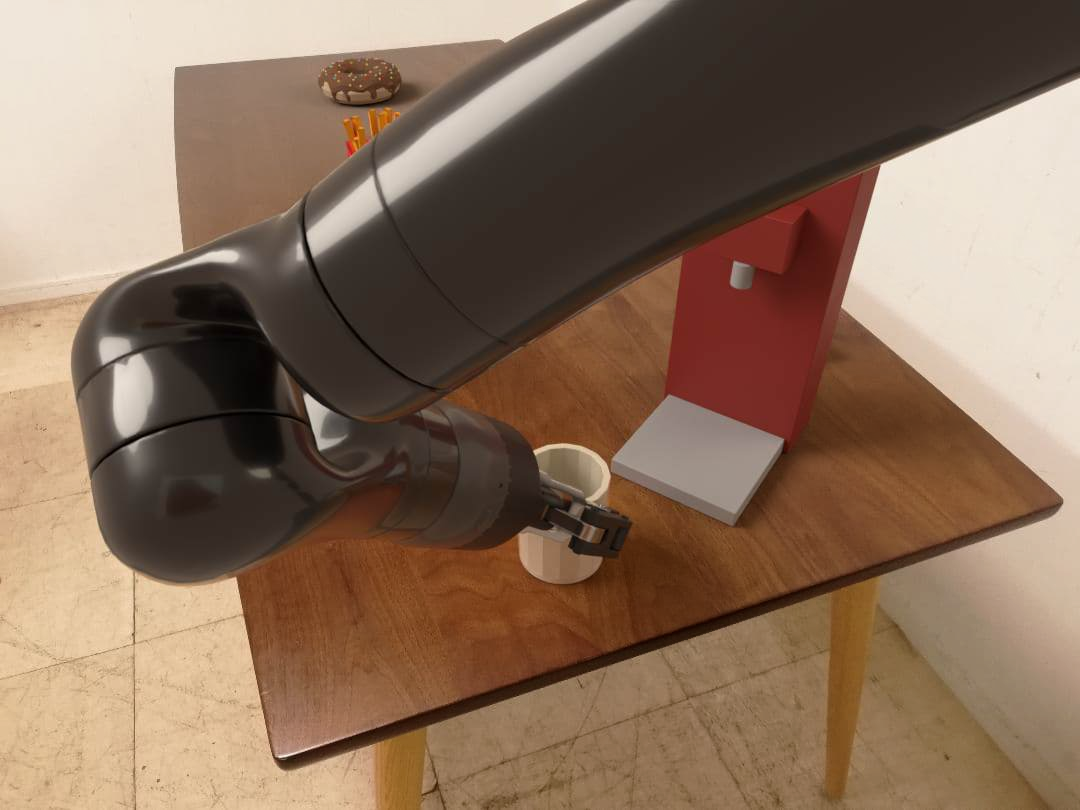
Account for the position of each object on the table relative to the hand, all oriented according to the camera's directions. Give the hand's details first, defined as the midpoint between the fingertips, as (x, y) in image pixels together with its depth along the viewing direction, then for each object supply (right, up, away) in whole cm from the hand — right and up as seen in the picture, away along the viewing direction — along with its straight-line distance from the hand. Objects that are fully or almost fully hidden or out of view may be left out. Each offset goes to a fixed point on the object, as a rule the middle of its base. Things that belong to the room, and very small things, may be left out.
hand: (556, 499), depth 57 cm
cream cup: (0, -4, +5) cm, 6 cm away
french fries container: (-20, +28, +44) cm, 56 cm away
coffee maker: (+14, +3, +14) cm, 20 cm away
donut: (-31, +60, +83) cm, 107 cm away
